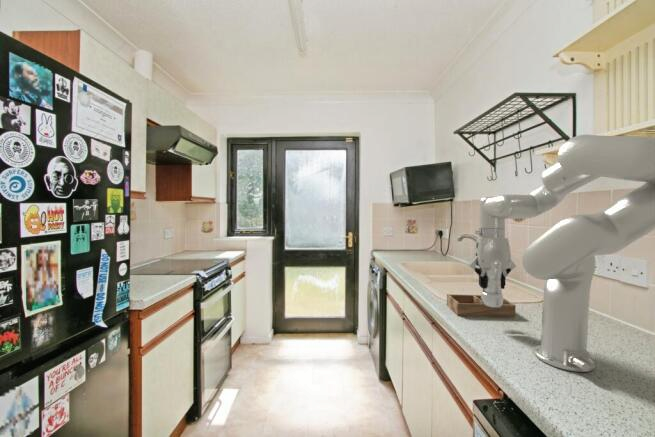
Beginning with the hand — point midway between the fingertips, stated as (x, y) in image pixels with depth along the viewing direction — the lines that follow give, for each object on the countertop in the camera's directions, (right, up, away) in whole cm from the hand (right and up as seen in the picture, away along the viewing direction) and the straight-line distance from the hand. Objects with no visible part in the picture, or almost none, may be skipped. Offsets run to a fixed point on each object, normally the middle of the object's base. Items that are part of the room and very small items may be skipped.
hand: (492, 287), depth 101 cm
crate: (+3, -13, +14) cm, 19 cm away
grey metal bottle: (0, -7, 0) cm, 7 cm away
